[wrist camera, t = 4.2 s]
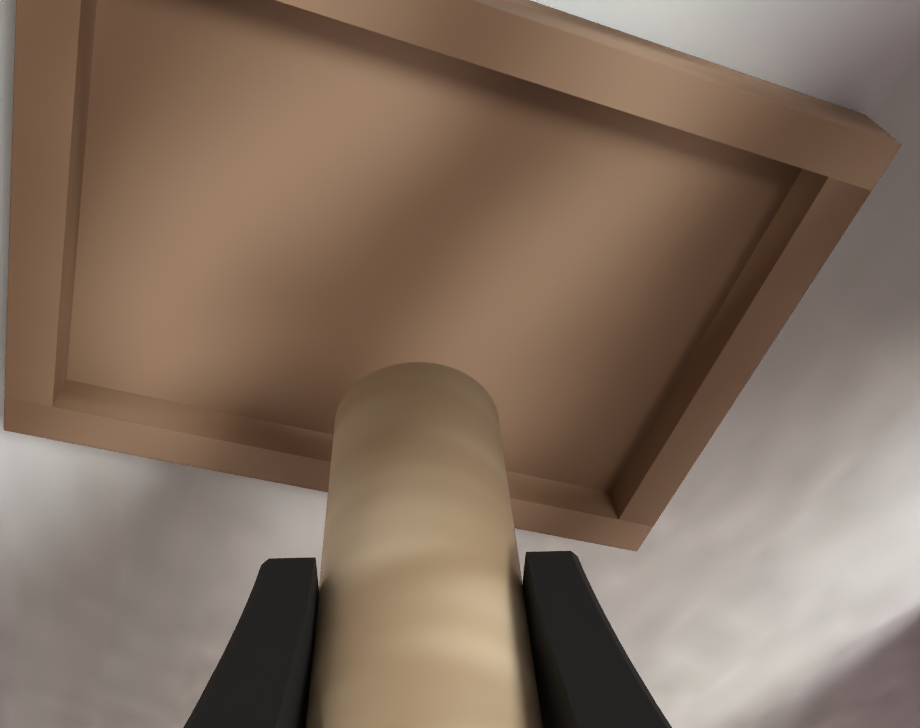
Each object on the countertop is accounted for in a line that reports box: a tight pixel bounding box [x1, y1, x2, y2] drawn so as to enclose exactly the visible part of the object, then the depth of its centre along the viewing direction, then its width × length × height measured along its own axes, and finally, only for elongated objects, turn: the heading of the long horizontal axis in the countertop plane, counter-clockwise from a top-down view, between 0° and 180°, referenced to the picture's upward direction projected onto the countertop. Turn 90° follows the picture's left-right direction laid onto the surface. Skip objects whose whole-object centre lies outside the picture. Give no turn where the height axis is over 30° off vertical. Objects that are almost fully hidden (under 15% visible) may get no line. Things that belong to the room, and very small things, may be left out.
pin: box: [306, 362, 543, 728], centre depth 11 cm, size 3×3×8 cm
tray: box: [4, 0, 901, 551], centre depth 19 cm, size 16×12×2 cm
